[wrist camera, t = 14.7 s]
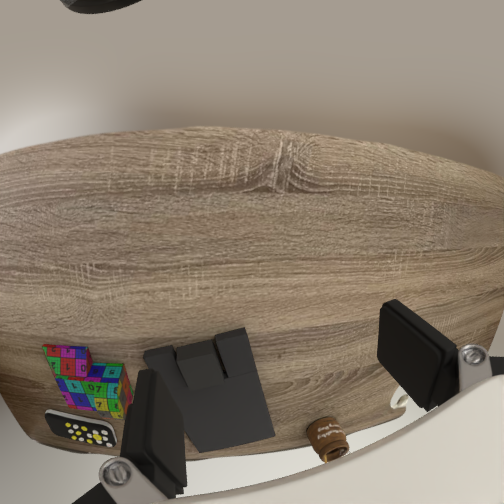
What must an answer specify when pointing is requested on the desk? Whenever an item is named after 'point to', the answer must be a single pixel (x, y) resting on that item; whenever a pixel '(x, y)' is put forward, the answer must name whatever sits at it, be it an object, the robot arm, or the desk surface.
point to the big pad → (219, 396)
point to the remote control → (81, 428)
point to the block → (90, 381)
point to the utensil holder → (328, 439)
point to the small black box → (200, 365)
